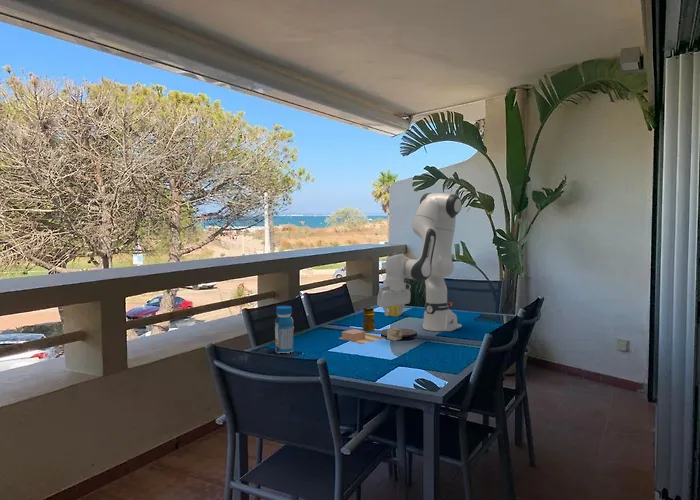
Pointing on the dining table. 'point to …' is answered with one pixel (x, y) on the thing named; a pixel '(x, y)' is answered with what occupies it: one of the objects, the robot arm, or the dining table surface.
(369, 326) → the condiment
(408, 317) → the dining table surface
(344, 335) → the terracotta block
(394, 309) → the plant pot
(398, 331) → the maple cube
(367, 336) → the cork placemat
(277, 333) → the beverage bottle
